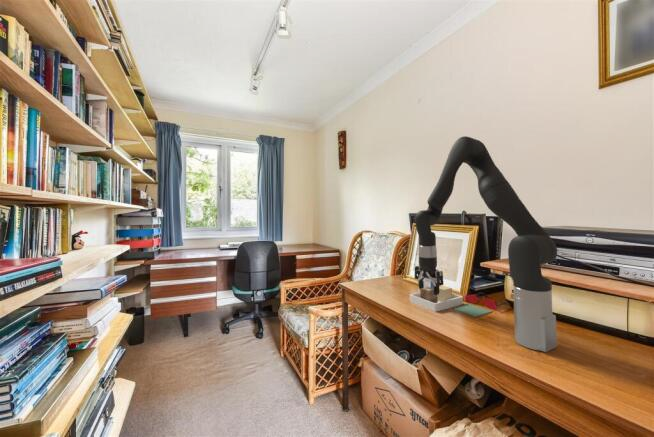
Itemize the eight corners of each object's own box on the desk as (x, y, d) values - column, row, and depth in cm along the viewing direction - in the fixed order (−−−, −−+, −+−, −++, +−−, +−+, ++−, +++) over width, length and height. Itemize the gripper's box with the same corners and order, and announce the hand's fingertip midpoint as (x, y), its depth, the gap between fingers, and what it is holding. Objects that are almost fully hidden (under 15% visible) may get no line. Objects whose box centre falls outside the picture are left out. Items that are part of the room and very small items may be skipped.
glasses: (463, 303, 118) (463, 292, 117) (485, 296, 125) (485, 286, 125) (496, 313, 105) (496, 300, 105) (518, 304, 113) (518, 293, 113)
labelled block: (437, 305, 115) (437, 289, 115) (429, 307, 113) (428, 291, 113) (428, 301, 119) (428, 286, 119) (420, 303, 117) (420, 288, 117)
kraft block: (452, 301, 119) (451, 288, 118) (444, 303, 116) (443, 289, 116) (443, 298, 123) (442, 285, 123) (435, 300, 121) (434, 287, 121)
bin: (462, 304, 115) (462, 296, 115) (435, 312, 108) (434, 303, 107) (436, 295, 128) (435, 288, 128) (409, 302, 121) (409, 294, 121)
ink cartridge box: (440, 294, 129) (439, 265, 129) (431, 296, 127) (430, 266, 127) (426, 289, 138) (425, 262, 138) (418, 291, 137) (417, 263, 136)
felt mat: (492, 312, 105) (492, 311, 105) (475, 317, 101) (475, 316, 100) (469, 305, 114) (469, 303, 114) (453, 309, 110) (452, 308, 110)
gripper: (447, 256, 111) (448, 294, 111) (421, 252, 124) (422, 286, 124) (434, 258, 108) (435, 298, 108) (409, 254, 121) (410, 289, 121)
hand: (428, 291), depth 116 cm, fingers open, 8 cm apart
